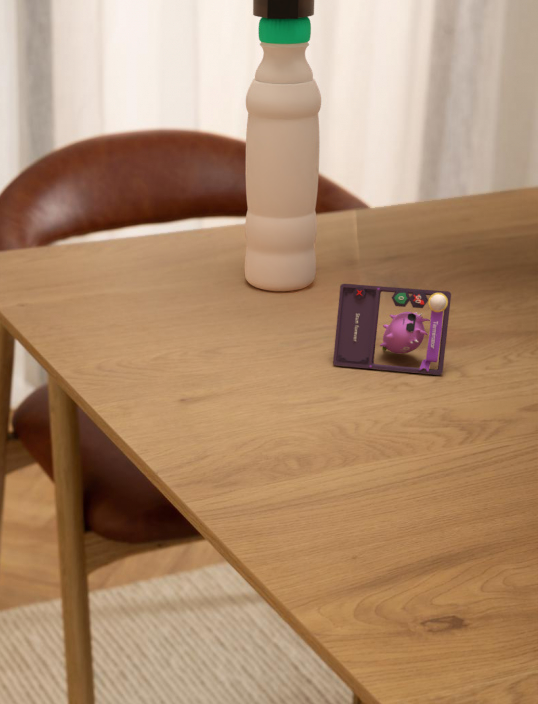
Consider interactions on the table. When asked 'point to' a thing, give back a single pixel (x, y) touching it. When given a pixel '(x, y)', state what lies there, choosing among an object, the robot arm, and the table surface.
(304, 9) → the brown wooden puck
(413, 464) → the table surface
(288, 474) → the table surface
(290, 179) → the water bottle
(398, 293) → the game card
